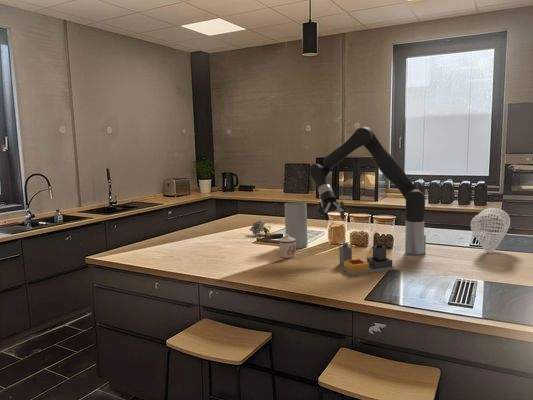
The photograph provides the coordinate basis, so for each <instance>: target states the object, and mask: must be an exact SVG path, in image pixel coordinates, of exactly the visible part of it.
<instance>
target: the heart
mask: <svg viewBox="0 0 533 400" xmlns="http://www.w3.org/2000/svg"><path fill="white" fill-rule="evenodd" d="M510 226H511V217H510V215H509V214H508V212H506V211H505V210H503V209H501V208H498V207H489V208H486V209H485V208H484V209H482V210H481V211H480V212H479V213H478V214H475V216H474V217H472V219H471V221H470V229H471V232H472V235H473V236H474V238H476V240H477V241H478V243H479V244H480V245H481V247H482V249H484V251H485V252H486V253H487V254H491V253H493V252H494V251H495V250H496V249H497V248H498V246H499V245H500V243H501V242H502V240H503V239H504V237H505V236H506V234H507V232H508V230H509V229H510Z"/></svg>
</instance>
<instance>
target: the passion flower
mask: <svg viewBox="0 0 533 400" xmlns="http://www.w3.org/2000/svg"><path fill="white" fill-rule="evenodd" d="M265 225H266V222H263V223H262V220H261V219H259V220H258V221H255V222H253V223H252V226H251V227H250V229H249V230H248V231H249V232H252V235H254V237H256V236H257V235H258V236H259V235H260V234H261V233H262V234H264V235H265V234H270V229H271V226H270V225H267V226H265ZM267 227H268V228H269V229H268V228H267Z"/></svg>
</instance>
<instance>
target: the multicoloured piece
mask: <svg viewBox="0 0 533 400" xmlns="http://www.w3.org/2000/svg"><path fill="white" fill-rule="evenodd" d="M341 269H342V271H343V272H345V273H346V274H347V275H349V276H358V275H364V274H372V273H379V272H380V273H381V272H388V271H394V270H395V266H394V265H393V260H392V259H390V258H389V257H387V246H384V245H383V241H376V245H372V256H369V257H366V260H364V259H362V258H354V259H353V258H352V260H344V267H343V266H342V267H341Z"/></svg>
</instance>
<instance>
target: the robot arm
mask: <svg viewBox="0 0 533 400" xmlns="http://www.w3.org/2000/svg"><path fill="white" fill-rule="evenodd" d="M361 147H364V148H365V149H366V150H367V151H368V152H369V154H370V155H371V156H372V159H373V161H374V162H375V165H376V166H377V168H378V169H379V171H380V172H381V173H382V174H383V176H384V177H386V179H387V180H388V181H389V182H390V183H392V184H393V185H394V186H395V187H396V188H397V189H398V190H399V192H400V194H401V195H402V197H403V198H404V200H405V230H404V231H405V234H404V236H405V239H404V240H405V243H404V244H405V248H404V249H405V250H404V252H405V253H406V254H408V255H411V256H413V255H414V256H419V255H423V254H425V253H426V251H427V249H426V246H427V245H426V244H427V243H426V240H427V236H426V234H425V215H426V214H425V213H426V198H425V195H424V193H423V192H422V191H421V190H420V189H419V188H418V187H417V186H416V185H415V184H414V183H413V182H412V181H411V180H410V178H409V177H408V176H407V174H406V173H405V171H404V170H403V168H402V167H401V165H400V164H399V163H398V161H397V160H396V158H394V157H393V155H392V154H391V153H390V152H389V151H388V150H387V149H386V148H385V147H384V146H383V144H382V143H381V142H380V141H379V139H378V138H377V136H376V134H375V133H374V131H373V129H372V128H370V127H368V126H361V127H359V128H357V129H356V130H355V131H354V133H352V135H351V136H350V137H349V138H348V139H347V140H346V141H345V142H344V143H343V144H341V145H340V146H339V147H337V148H336V149H334V150H333V151H331V153H329V154H328V155H326V157H324V158H323V161H322V163H323V164H324V165H321V164H319V163H316V162H315V163H312V164H311V165H310V166H309V170H308V171H309V176H310V177H311V178H312V180H313V181H314V184H315V185H316V189H317V191H318V194H319V195H318V196H319V198H320V200H321V202H318V204H317V209H318V212H319V213H318V214H319V215H323V218H324V219H325V221H326V222H329V220H330V217H329V213H328V211H329V212H334V211H335V212H336V213H339V214H340V218H341V220H342V221H343V220H345V219H346V215H345V213H346V211H347V208H346V205H345V203H344V202H343V200H342V201H341V200H340V202H338V201H337V198H336V195H335V192H334V190H333V188H332V186H331V184H330V181H329V179H328V178H327V176H328V175H329V174H330V172H332V170H333V168H335V167H336V166H337V165H338V164H340V163H341V162H342V161H344V160H345V159H346V158H347V157H348V156H349V155H350V154H351V153H353V152H354V151H356V150H357V149H359V148H361ZM323 208H324V210H323Z"/></svg>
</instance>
